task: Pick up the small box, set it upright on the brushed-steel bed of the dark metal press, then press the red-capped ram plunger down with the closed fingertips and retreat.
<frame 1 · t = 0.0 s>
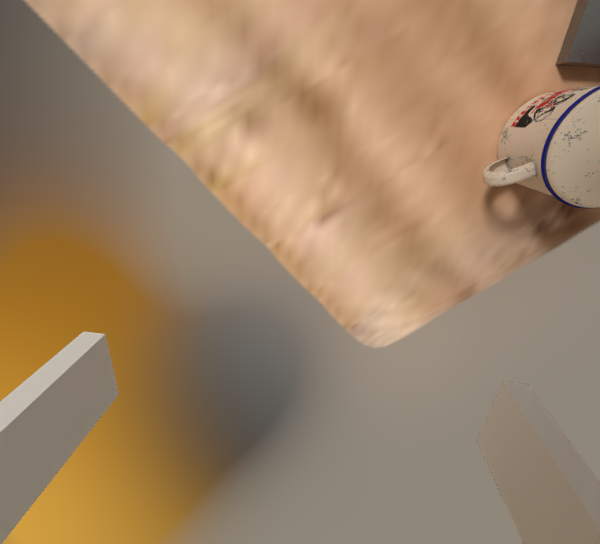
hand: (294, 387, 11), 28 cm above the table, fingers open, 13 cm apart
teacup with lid: (525, 147, 32), on the table
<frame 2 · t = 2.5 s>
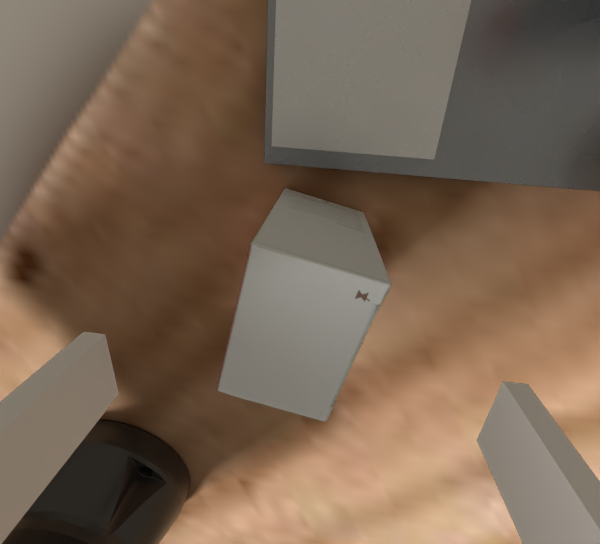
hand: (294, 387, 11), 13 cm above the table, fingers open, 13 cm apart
press: (459, 36, 17), on the table
small box: (308, 251, 23), on the table
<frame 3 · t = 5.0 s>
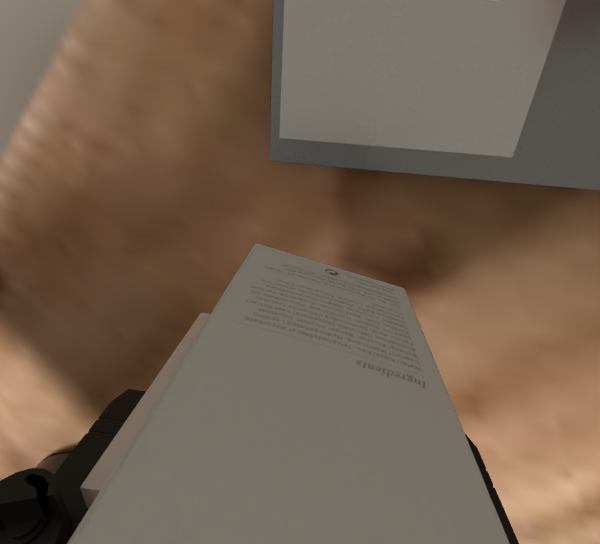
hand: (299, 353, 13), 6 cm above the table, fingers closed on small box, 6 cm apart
small box: (301, 345, 13), point 5 cm above the table, touching gripper
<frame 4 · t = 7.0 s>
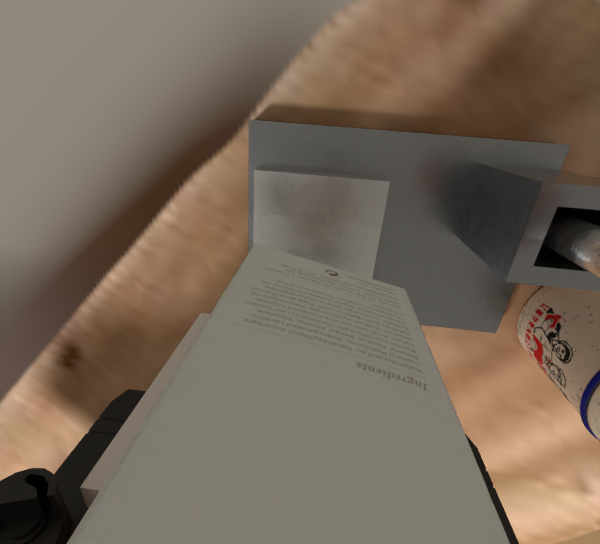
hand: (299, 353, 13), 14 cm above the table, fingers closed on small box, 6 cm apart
press: (382, 231, 25), on the table
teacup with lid: (572, 330, 27), on the table
small box: (301, 346, 13), point 14 cm above the table, touching gripper
when the fingers open (3 cm above the table, at t = 9.1 s): small box drops 1 cm, resting on press.
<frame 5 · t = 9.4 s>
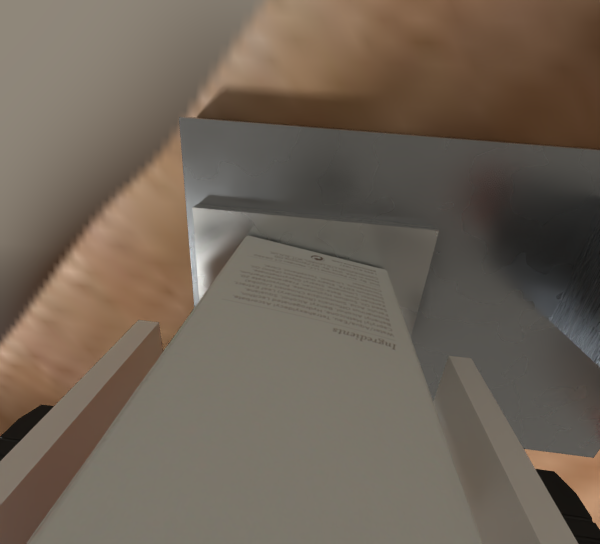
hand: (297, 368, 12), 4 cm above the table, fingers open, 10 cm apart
press: (415, 299, 15), on the table
small box: (296, 330, 14), point 2 cm above the table, touching press
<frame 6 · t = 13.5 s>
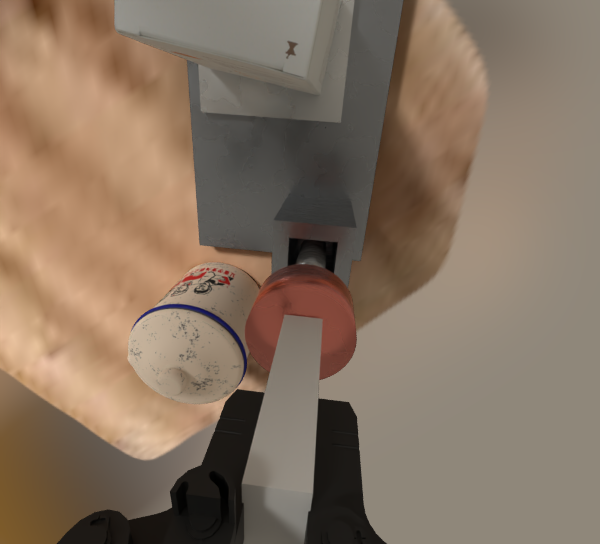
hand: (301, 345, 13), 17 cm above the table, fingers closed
press: (287, 125, 25), on the table
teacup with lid: (210, 303, 33), on the table
small box: (271, 35, 21), point 2 cm above the table, touching press
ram: (308, 281, 18), point 11 cm above the table, slide at 0.0 cm, touching gripper
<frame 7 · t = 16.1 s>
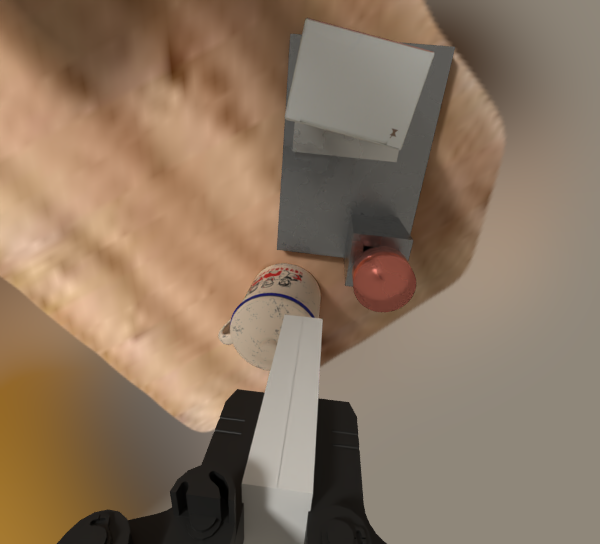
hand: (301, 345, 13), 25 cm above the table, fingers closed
press: (352, 161, 33), on the table
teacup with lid: (276, 296, 41), on the table
small box: (350, 100, 29), point 2 cm above the table, touching press
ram: (376, 260, 29), point 8 cm above the table, slide at 3.6 cm
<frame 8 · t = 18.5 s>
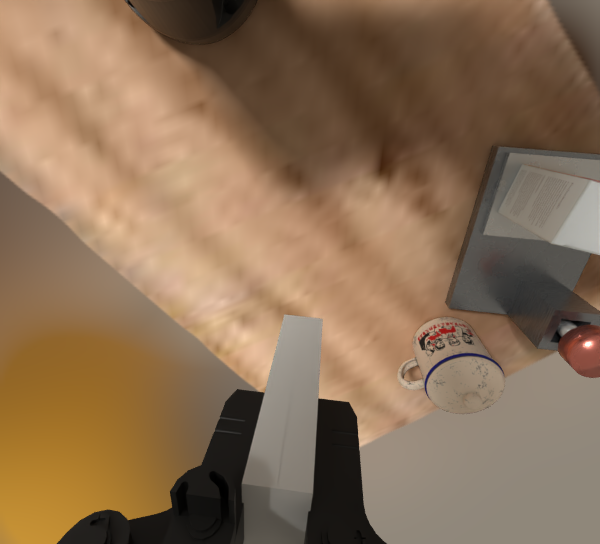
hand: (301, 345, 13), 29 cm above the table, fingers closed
press: (525, 237, 40), on the table
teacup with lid: (432, 342, 47), on the table
small box: (541, 196, 36), point 2 cm above the table, touching press
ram: (565, 327, 36), point 8 cm above the table, slide at 3.6 cm
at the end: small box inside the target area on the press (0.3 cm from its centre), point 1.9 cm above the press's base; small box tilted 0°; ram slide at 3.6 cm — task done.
